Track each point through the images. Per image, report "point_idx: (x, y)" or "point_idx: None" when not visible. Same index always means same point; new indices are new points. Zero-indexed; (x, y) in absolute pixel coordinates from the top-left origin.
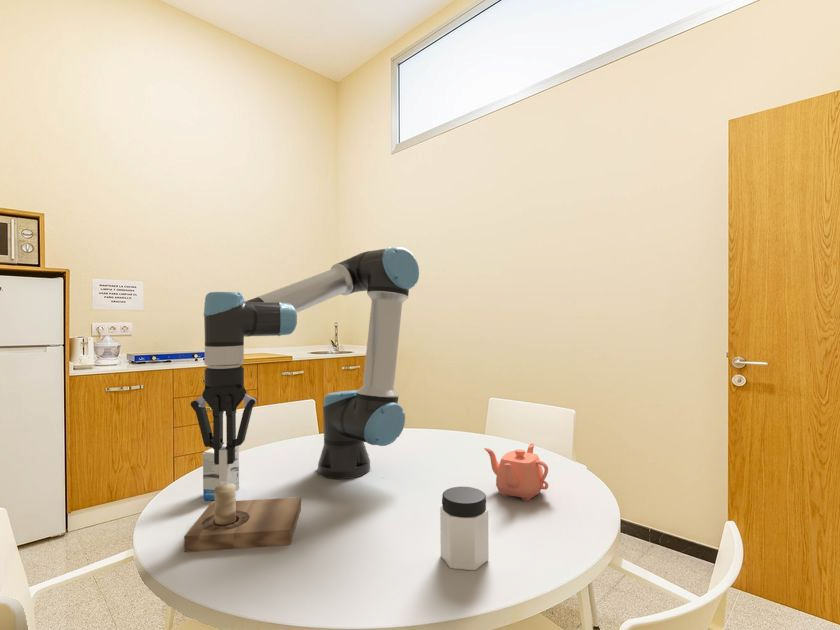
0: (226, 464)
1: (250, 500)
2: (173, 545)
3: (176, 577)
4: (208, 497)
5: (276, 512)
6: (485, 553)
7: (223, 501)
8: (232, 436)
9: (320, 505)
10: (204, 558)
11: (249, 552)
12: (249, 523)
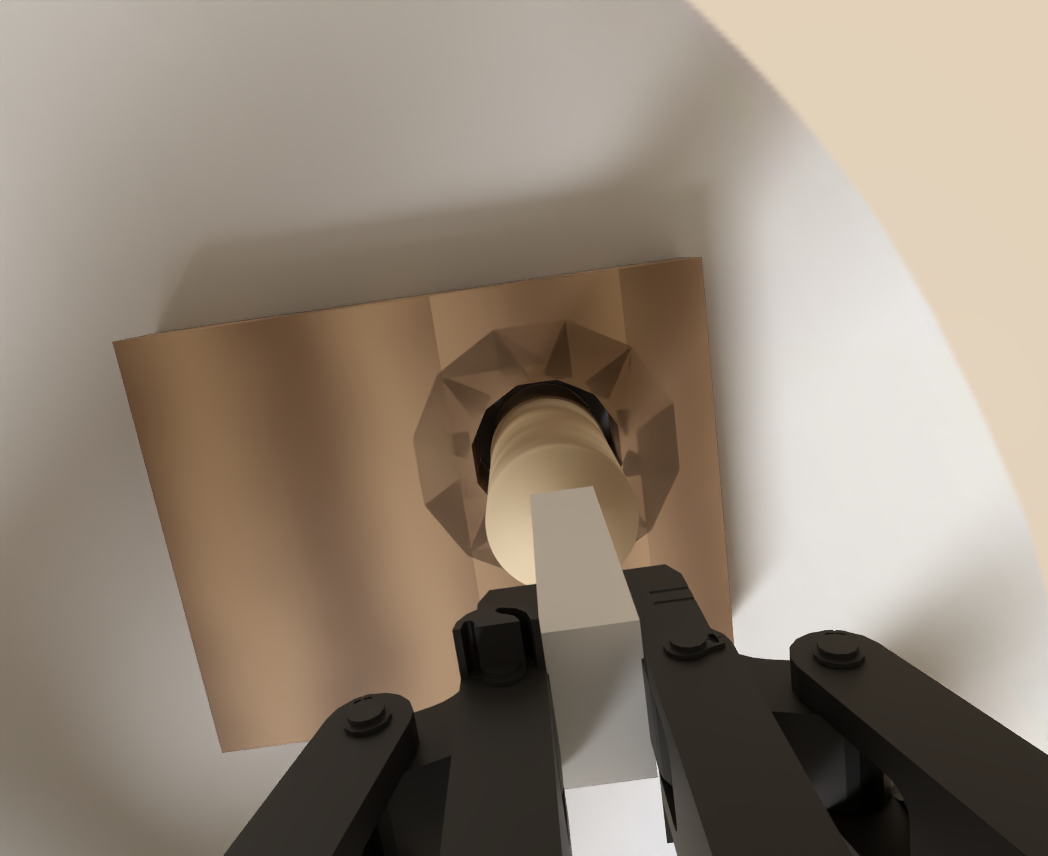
0: (536, 554)
1: None
2: (769, 325)
3: (603, 9)
4: None
5: (288, 555)
6: None
7: (541, 431)
8: (451, 779)
9: (162, 759)
10: (546, 194)
11: (339, 254)
12: (389, 416)
